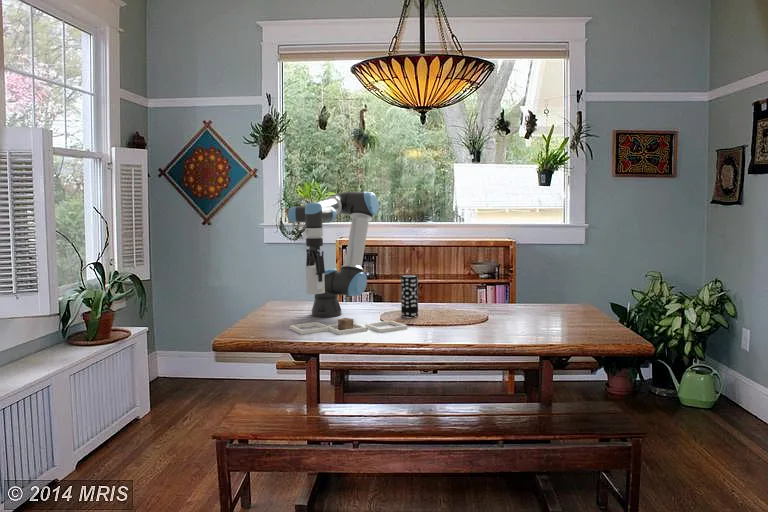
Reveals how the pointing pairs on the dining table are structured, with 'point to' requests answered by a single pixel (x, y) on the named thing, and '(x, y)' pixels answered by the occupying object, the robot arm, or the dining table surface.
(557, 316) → the dining table surface
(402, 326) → the frame
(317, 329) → the frame
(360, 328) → the frame
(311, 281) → the cup
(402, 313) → the white-spotted black cylinder
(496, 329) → the dining table surface
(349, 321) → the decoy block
